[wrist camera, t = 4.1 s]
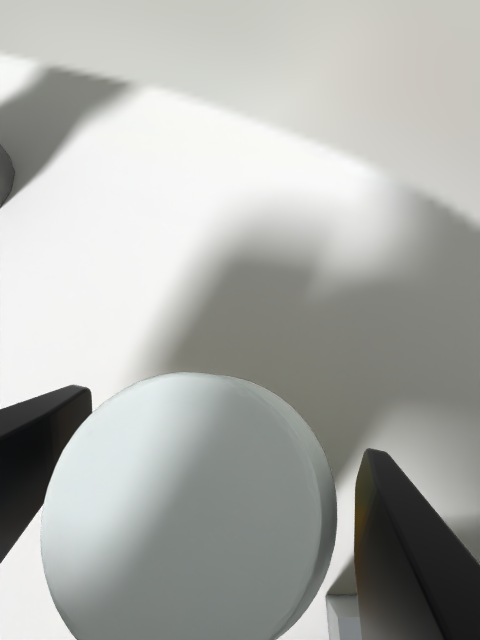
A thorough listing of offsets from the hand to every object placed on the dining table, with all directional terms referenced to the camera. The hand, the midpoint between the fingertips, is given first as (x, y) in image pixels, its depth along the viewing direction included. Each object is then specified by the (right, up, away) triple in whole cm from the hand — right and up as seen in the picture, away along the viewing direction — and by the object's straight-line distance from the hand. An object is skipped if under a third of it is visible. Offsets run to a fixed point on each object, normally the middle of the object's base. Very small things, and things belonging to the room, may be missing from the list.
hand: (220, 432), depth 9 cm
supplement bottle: (0, -4, +6) cm, 7 cm away
